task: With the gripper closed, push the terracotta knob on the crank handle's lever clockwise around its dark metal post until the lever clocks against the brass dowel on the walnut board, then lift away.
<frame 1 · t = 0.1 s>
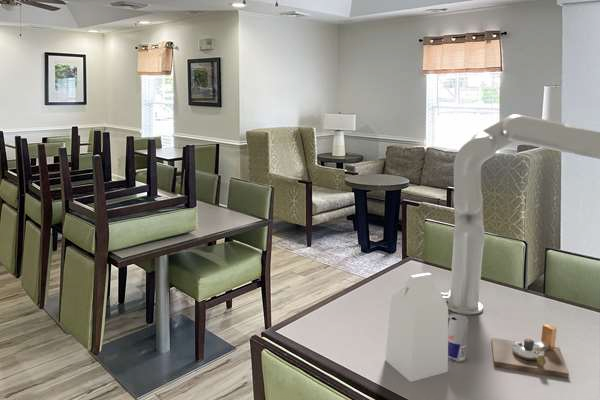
energy drink: (455, 358, 136), on the table
walnut board: (527, 359, 135), on the table
milk: (415, 366, 131), on the table
crank handle: (535, 341, 135), point 5 cm above the table, hinge at 0.0°
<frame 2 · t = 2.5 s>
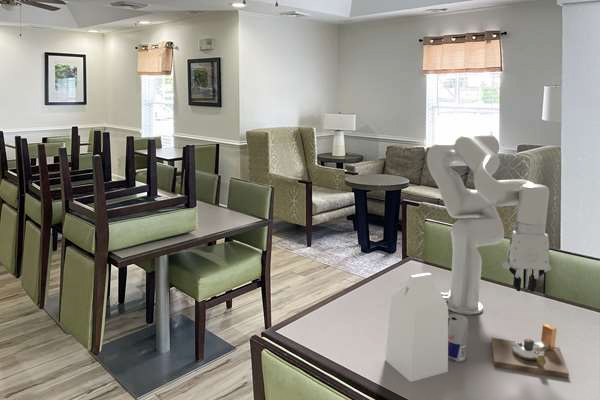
hand: (524, 289, 139), 17 cm above the table, tool pointing down, fingers open, 3 cm apart
nothing on the table moved.
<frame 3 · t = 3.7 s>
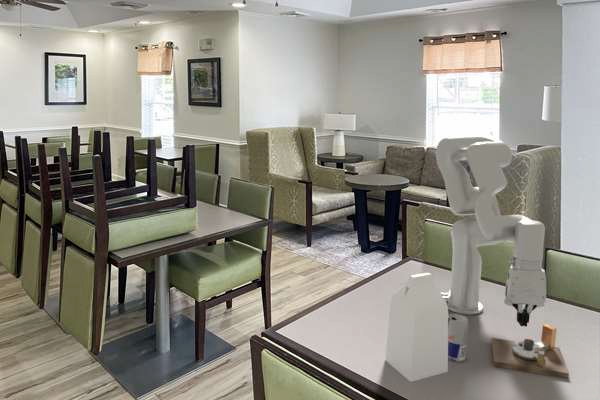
hand: (522, 324, 141), 7 cm above the table, tool pointing down, fingers closed
nothing on the table moved.
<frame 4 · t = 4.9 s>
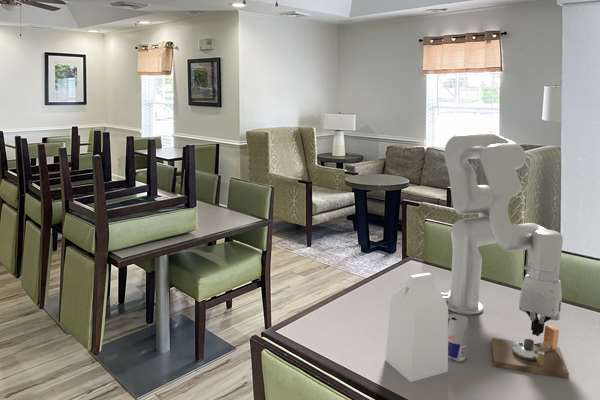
hand: (536, 333, 140), 4 cm above the table, tool pointing down, fingers closed
crank handle: (535, 341, 135), point 5 cm above the table, hinge at -5.2°, touching gripper
everything else where it was.
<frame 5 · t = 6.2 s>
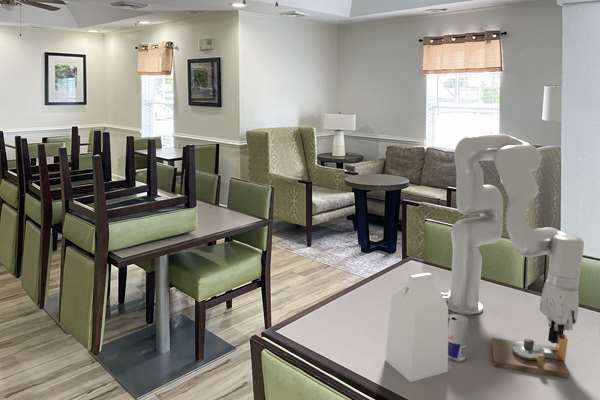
hand: (555, 341, 136), 4 cm above the table, tool pointing down, fingers closed
crank handle: (538, 344, 133), point 5 cm above the table, hinge at -42.1°, touching gripper
everything else where it was.
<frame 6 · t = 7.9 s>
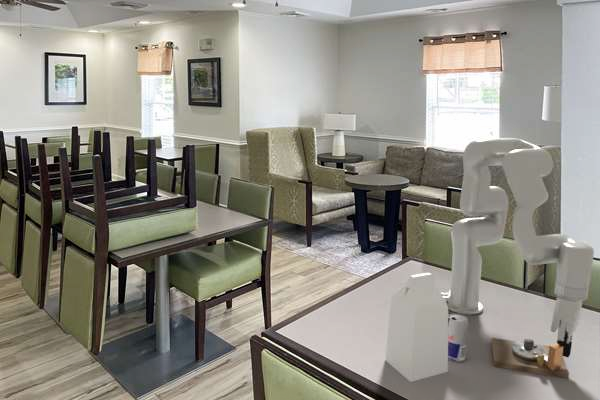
hand: (562, 354, 129), 4 cm above the table, tool pointing down, fingers closed
crank handle: (536, 347, 131), point 5 cm above the table, hinge at -91.0°, touching gripper
everything else where it was.
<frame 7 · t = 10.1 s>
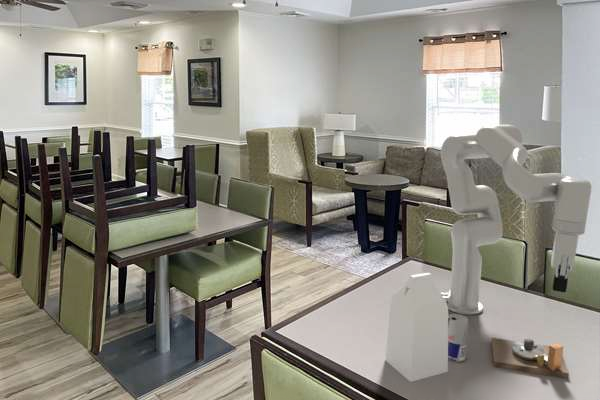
hand: (559, 290, 131), 20 cm above the table, tool pointing down, fingers closed
crank handle: (536, 347, 131), point 5 cm above the table, hinge at -91.0°, touching walnut board
everything else where it was.
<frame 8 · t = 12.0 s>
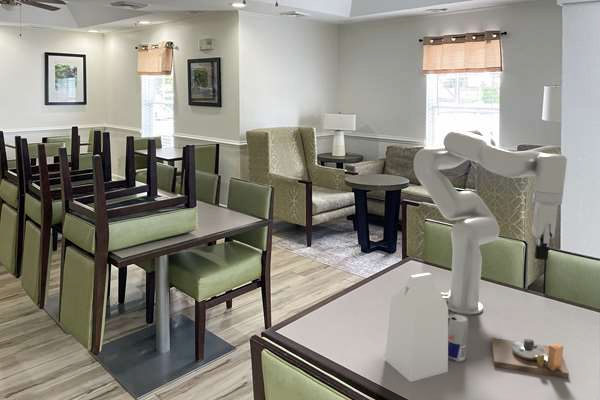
hand: (541, 258, 142), 25 cm above the table, tool pointing down, fingers closed
nothing on the table moved.
at the end: crank handle at -91° (first picture: +0°) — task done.
